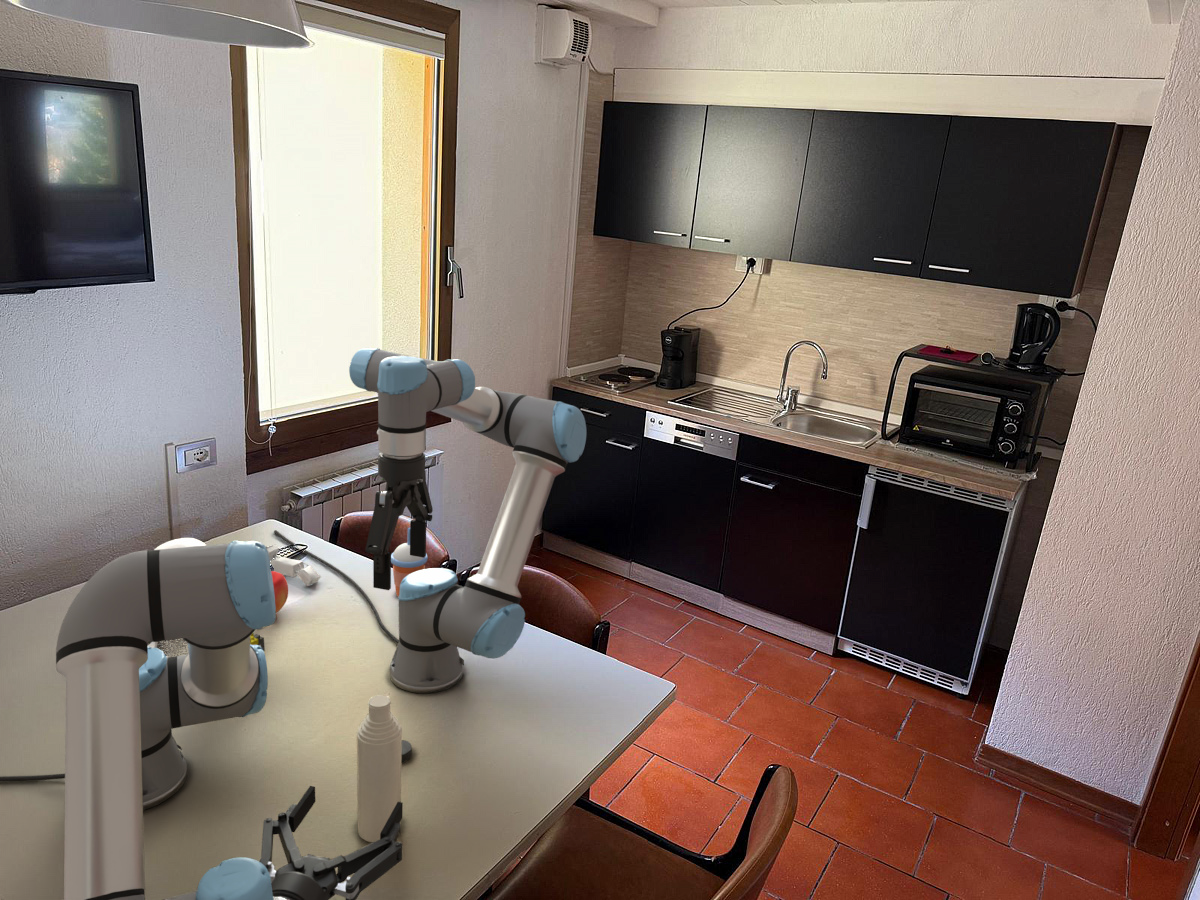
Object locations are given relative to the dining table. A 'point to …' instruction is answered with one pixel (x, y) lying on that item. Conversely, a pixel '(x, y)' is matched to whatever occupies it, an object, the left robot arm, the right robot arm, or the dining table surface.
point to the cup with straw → (405, 563)
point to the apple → (279, 590)
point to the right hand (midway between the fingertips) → (400, 571)
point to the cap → (406, 751)
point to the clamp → (292, 567)
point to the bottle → (378, 767)
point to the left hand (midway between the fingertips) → (356, 801)
